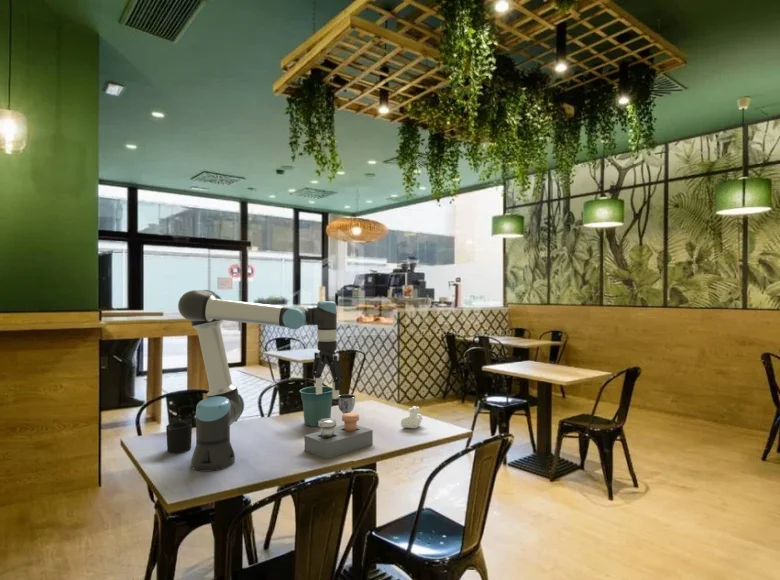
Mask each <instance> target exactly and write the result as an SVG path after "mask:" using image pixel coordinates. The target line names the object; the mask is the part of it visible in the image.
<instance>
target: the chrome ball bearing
mask: <svg viewBox="0 0 780 580" xmlns="http://www.w3.org/2000/svg"><path fill="white" fill-rule="evenodd" d="M334 427H337V420H336V419H335V418H332V417H331V418H326V419H321V420H319V421H318V428H320V431H321V438H324V439H329V438H332V437H334Z"/></svg>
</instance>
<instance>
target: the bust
mask: <svg viewBox="0 0 780 580" xmlns="http://www.w3.org/2000/svg"><path fill="white" fill-rule="evenodd" d="M408 412H409V414H408V415H406V416H404V417H402V419H401V420H400V426H401V428H403V429H417V428H418V427H419V426H420V425H421V422H422V420H423V416H422V414H421V413H420V407H419V406H416V405H414V406H412V407H409V408H408Z"/></svg>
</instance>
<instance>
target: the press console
mask: <svg viewBox="0 0 780 580" xmlns="http://www.w3.org/2000/svg"><path fill="white" fill-rule="evenodd" d="M373 433H374V432H373V429H371V428H367V427H365V426H362V425H358V424H357V431H353V432H350V433H349V432H346V431H344V424H342V425H338V426H336V427H334V437H332V438H329V439H324V438H321V430H319V431H317V432H313V433H308V434H305V435H304V451H305V452H308V453H310V454H313V455H314V456H317V457H319V458H322V459H323V460H328V459H333V458H335V457H337V456H341V455H344V454H348V453H350V452H354V451H356V450H360V449H363V448H366V447H369V446H372V445H374V444H373V443H374V442H373V441H374V439H373V438H374V437H373V436H374V435H373Z"/></svg>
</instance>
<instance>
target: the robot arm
mask: <svg viewBox="0 0 780 580" xmlns="http://www.w3.org/2000/svg"><path fill="white" fill-rule="evenodd" d="M177 304H178V305H177V308H178V312H179V314H180V316H182V318H184V319H185V320H188V321H190V322H191V327H192V328H193V329H195V330H196V331H197V335H198V340H199V346H200V350H201V356H202V358H203V364H204V369H205V374H206V377H207V383H208V388H209V390H208V392H207V394H206V398H203V399H202V400H199V401H198V403H197V404H196V410H195V426H196V427H195V433H196V434H195V435H196V436H195V437H196V438H195V439H196V441H195V443H196V444H195V448H194V450H193V454H192V457H191V460H190V463H191V464H190V468H191V469H193V468H194V469H193V470H195V469H197V470H196V471H199V470H213V471H218V470H217V469H219V470H223V469H226V468H228V466H229V467H230V465H231V466H232V465H234V464H235V463H236V455H235V451H234V449H233V446H232V443H231V425H232V424H233V423H235V422H236V421H237V420H238V419H240V417H241V416H242V414H243V412H244V409H245V400H244V398H243V397H242V395H241V394H240V393H239V390H238V387H237V385H235V384H233V381H232V377H231V372H230V368H229V363H228V358H227V353H226V348H225V344H224V338H223V334H222V329H221V324H222V323H223V322H224V321H226V322H236V323H238V322H239V323H246V324H255V325H265V326H273V327H282V328H288V329H290V330H298V329H300V328H301V327H303V326H317V330H316V331H317V335H316V336H317V338H316V339H317V350H318V351H316V352H314V354H313V355H314V357H313V358H314V360H313V364H312V369H311V376H313V377H314V378H315V379H314V380H315V381H314V382H315V384H314V385H315V387H316V395H318V394H322V386H323V375H322V374H323V372H324V369H325V366H326V365H327V367H328V368H329V370H330V373H331V377H332V380H333V381H332V386H331V387H332V400H338V398H339V395H340V389H341V387H340V386H341V384H340V383H341V382H342V381H344V375H343V374H344V372H343V368H342V363H341V355H340V354H336V353H335V351H336V350H337V348H338V347H337V346H338V345H337V344H338V343H337V321H338V320H337V317H338V316H337V315H338V312H337V303H336V302H335V301H331V300H328V301H327V300H325V301H324V300H323V301H317V304H316V305H315V306H308V305H307V306H305V305H304V306H299V305H294V306H283V305H282V306H281V305H275V304H274V305H272V304H265V303H255V302H247V301H238V300H228V299H222V297H221V296H220V295H219V294H218V293H216V292H215V291H213V290H209V289H201V290H199V289H198V290H196V289H195V290H194V289H193V290H190V291H187V292H185V293H184V294H182V296H181V297H180V298H179V300H178V303H177ZM225 467H226V468H225ZM222 468H223V469H222Z"/></svg>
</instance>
